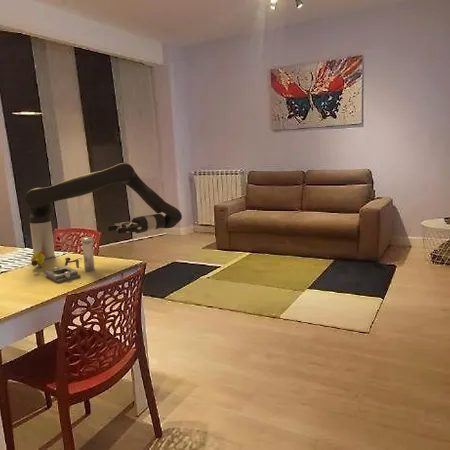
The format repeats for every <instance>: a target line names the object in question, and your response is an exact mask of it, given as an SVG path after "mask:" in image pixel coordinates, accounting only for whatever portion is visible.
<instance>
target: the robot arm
mask: <svg viewBox="0 0 450 450" xmlns="http://www.w3.org/2000/svg"><path fill="white" fill-rule="evenodd" d="M118 183H123V184H124V185H126V186H128V187H129V188H131V189H132V191H134V192H135V193H136V194H137V195H138V196H139V197H140V198H141V199H142V201H144V203H145V204H146V205H147V206H148V207H150V208H151V210H152V211H154V212H155V214H146V215H141V216H135V217H133V218H132V219H131V221H124V222H117V223H113V225H107V232H113V231H117V234H118V235H119V234H125V233H130V234H131V233H135V234H142V233H146V232H147V233H148V232H151V231H155V230H158V229H172V228H174V227H175V226H177V224H179V222H180V221H181V220H182V219H183V215H182V212H181V211H180V210H179V209H178V208H177V207H175V206H174V205H172V204H170V203H169V202H167V201H165V200H164V199H163V198H162V197H161V196H160V195H159V194H158V193H157V192H155V190H153V189H152V188H151V187H149V186H148V185H147V184H146V183H145V182H144V181H143V180H142V178H140V176H139V175H138V174H137V172H136V170H135V168H134V167H133V166H132V165H131V164H130V163H127V162H122V163H118V164H116V165H114V166H111V167H108V168H106V169H103V170H99V171H93V172H88V173H85V174H81V175H77V176H74V177H71V178H68V179H65V180H63V181H61V182H58V183H56V184H54V185H51V186H45V187H34V188H31V189H30V190H28V191H27V192H26V193H25V196H24V203H25V204H26V206H28V207H29V209H30V210H29V211H30V215H29V226H30V235H31V244H32V252H33V254H35V253H38V252H39V253H40V252H41V251H43V252H45V255H44V256H45V259H50V258H53V257H55V256H56V255H55V254H56V253H55V247H54V236H53V225H52V219H51V218H52V208H51V205H52V203H55V202H59V201H63V200H68V199H73V198H77V197H81V196H86V195H89V194H91V193H93V192H96V191H98V190H101V189H103V188H104V187H106V186H110V185H113V184H118ZM162 213H163V214H165V215H163V214H162Z"/></svg>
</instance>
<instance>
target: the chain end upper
mask: <svg viewBox="0 0 450 450" xmlns="http://www.w3.org/2000/svg"><path fill="white" fill-rule="evenodd" d="M67 271H70V274H71V276H72V275H76V274H79V273H78V270H76V269H74V268H71V267H69V266H68V265H67V266H65V265H64V266H54V267H53V268H52V269H46V270H44V275H46V276H47V275H48V276H50V277H52V278H54V279H60V278H64V277H65V274H64V273H63V274H57V273H62V272H67Z"/></svg>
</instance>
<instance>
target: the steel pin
mask: <svg viewBox="0 0 450 450" xmlns="http://www.w3.org/2000/svg"><path fill="white" fill-rule="evenodd" d="M80 242H82V243H81V244H82V253H83V254H82V255H83V267H84V268H83V269H84V272H86V273H87V272H94V271H95V270H96V269H95V257H94V247H93V246H94V245H93V242H94V236H85V237H81V238H80Z"/></svg>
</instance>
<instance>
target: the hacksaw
mask: <svg viewBox="0 0 450 450" xmlns="http://www.w3.org/2000/svg"><path fill="white" fill-rule="evenodd" d="M64 260H65V262H64V266H67V267H68V263H75V267H76V269H79V268H80V269H81V266H80V265H79V264H80V263H79V262H80V261H82V260H83V259H82V258H76V259H73V260H71V257H66V258H64ZM79 260H80V261H79Z"/></svg>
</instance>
